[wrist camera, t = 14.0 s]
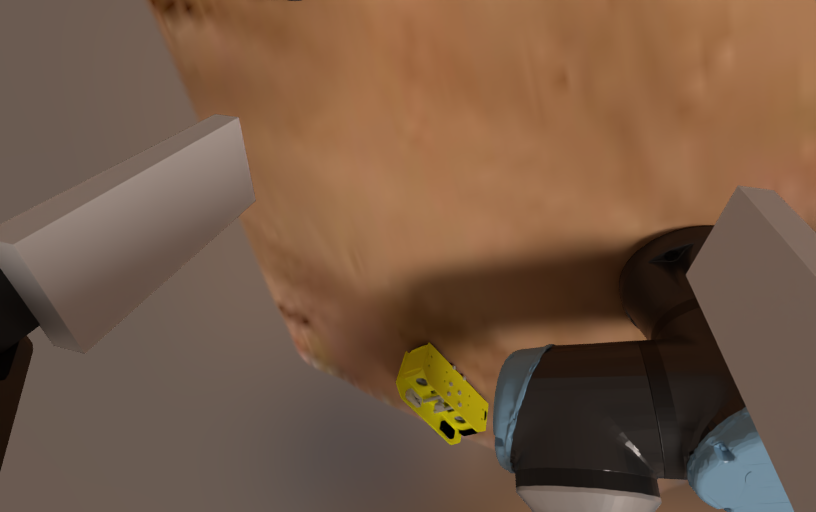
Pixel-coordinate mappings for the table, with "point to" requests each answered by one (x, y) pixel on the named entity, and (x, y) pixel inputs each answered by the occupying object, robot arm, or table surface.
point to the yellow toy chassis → (440, 394)
